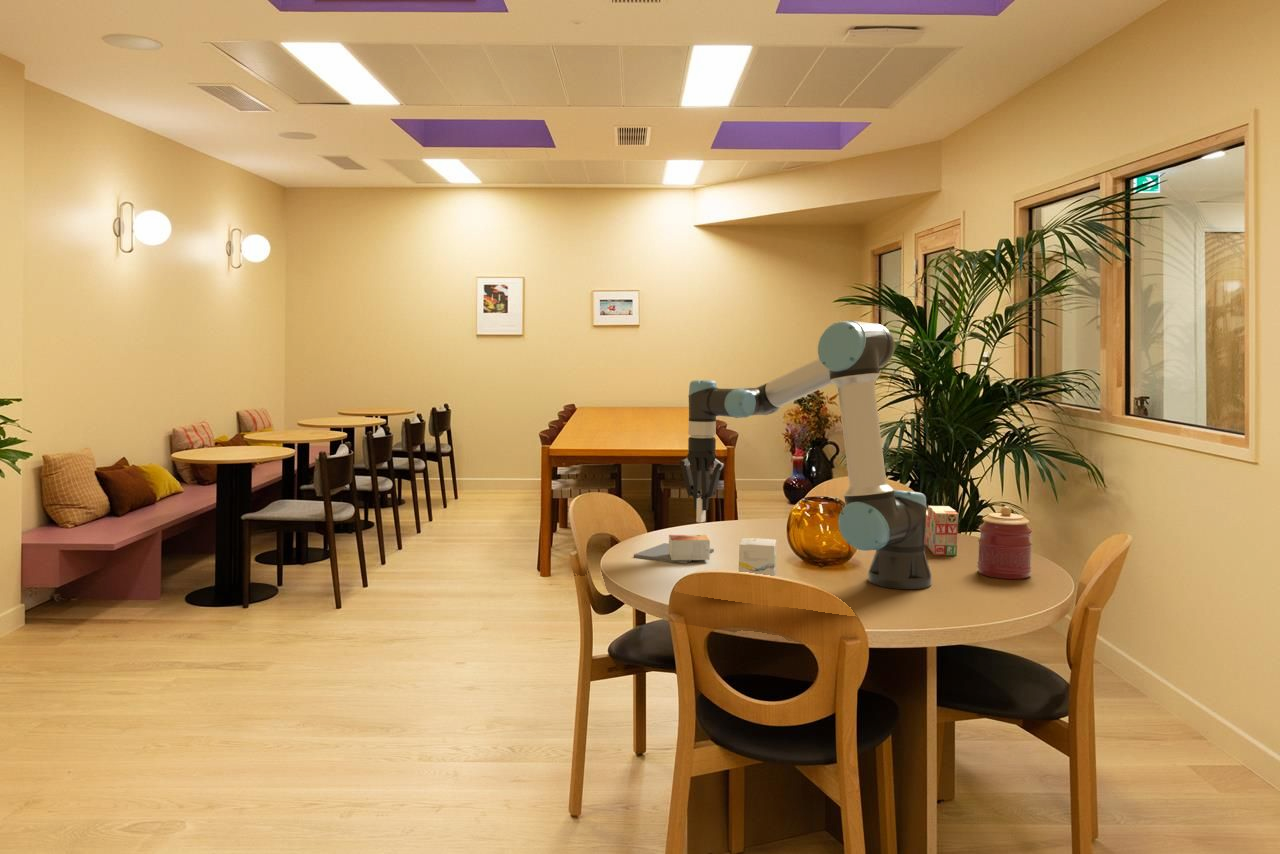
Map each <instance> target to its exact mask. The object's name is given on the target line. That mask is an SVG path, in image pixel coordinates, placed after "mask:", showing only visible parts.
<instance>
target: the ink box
mask: <svg viewBox="0 0 1280 854" xmlns="http://www.w3.org/2000/svg"><path fill="white" fill-rule="evenodd" d="M738 552H739V553H738V573H739V572H749V573H755V574H763V575H770V576H776V575H777V569H776V568H777V539H776V538H775V539H772V538H757V537H749V538H748V537H747V538H745V537H743V538H742V539H741V541H740V543H739V551H738Z"/></svg>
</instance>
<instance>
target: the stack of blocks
mask: <svg viewBox="0 0 1280 854" xmlns="http://www.w3.org/2000/svg"><path fill="white" fill-rule="evenodd" d="M958 534H959V513H958V512H957V511H956V509H953V508H952V507H951V506H949V505H927V510H926V533H925V547H927V548H928V549H929V551H931V553H932V554H933V555H935V556H957V555H958V554H957V553H958Z"/></svg>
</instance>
